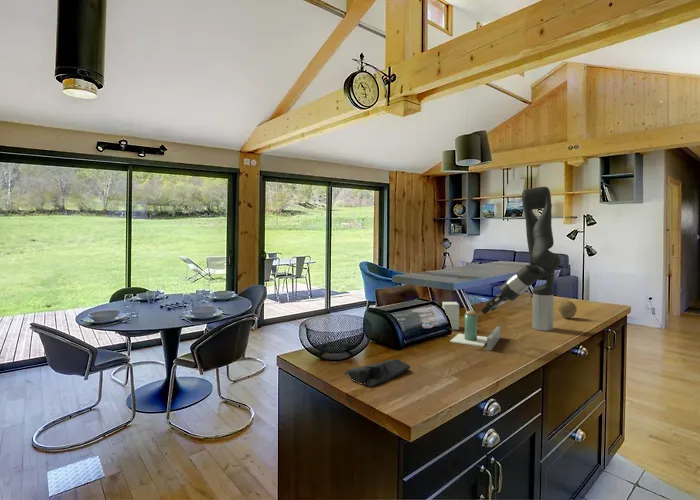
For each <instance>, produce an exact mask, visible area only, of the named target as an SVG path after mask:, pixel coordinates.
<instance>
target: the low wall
mask: <svg viewBox="0 0 700 500" xmlns="http://www.w3.org/2000/svg"><path fill="white" fill-rule="evenodd" d="M501 330H502V329H501V326H495V328H494V329H493V331H491V332H490V334H489V335H488V336H486V337H487V343H486V351H489V352H491V351H492V350H493V349H494V347H495V346H496V344H497V343H498V342H499V340H500V339H501Z"/></svg>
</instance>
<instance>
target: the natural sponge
mask: <svg viewBox="0 0 700 500" xmlns="http://www.w3.org/2000/svg"><path fill="white" fill-rule="evenodd" d="M557 309H558V312H559V314H560V315H561V317H563V319H566V318H569V319H571V318H572V317H574V316H575V315H576V313H577V312H578V311H577V310H578V309H577V305H576V304H575V303H574V302H573V301H570V300H567V299H566V300H562V301H561V302H559V304H558V305H557Z"/></svg>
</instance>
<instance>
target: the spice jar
mask: <svg viewBox="0 0 700 500" xmlns="http://www.w3.org/2000/svg"><path fill="white" fill-rule="evenodd" d="M464 334H465V340H469V341H475V340H477V336H478V314H477V312H476V311H475V310H466V311H465V313H464Z"/></svg>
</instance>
